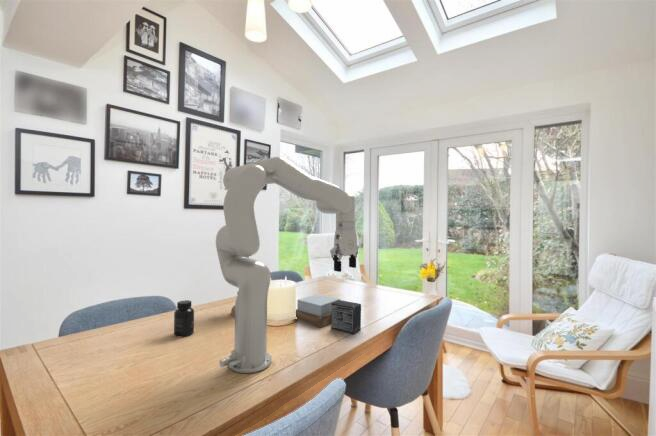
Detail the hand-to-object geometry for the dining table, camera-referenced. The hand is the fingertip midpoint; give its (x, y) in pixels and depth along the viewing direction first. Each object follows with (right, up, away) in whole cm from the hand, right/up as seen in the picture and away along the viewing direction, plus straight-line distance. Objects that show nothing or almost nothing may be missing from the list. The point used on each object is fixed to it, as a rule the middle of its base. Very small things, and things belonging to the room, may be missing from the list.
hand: (345, 269), depth 123 cm
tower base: (-11, -24, +12) cm, 29 cm away
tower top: (-11, -20, +12) cm, 26 cm away
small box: (0, -24, +1) cm, 24 cm away
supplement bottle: (-61, -23, -7) cm, 65 cm away
